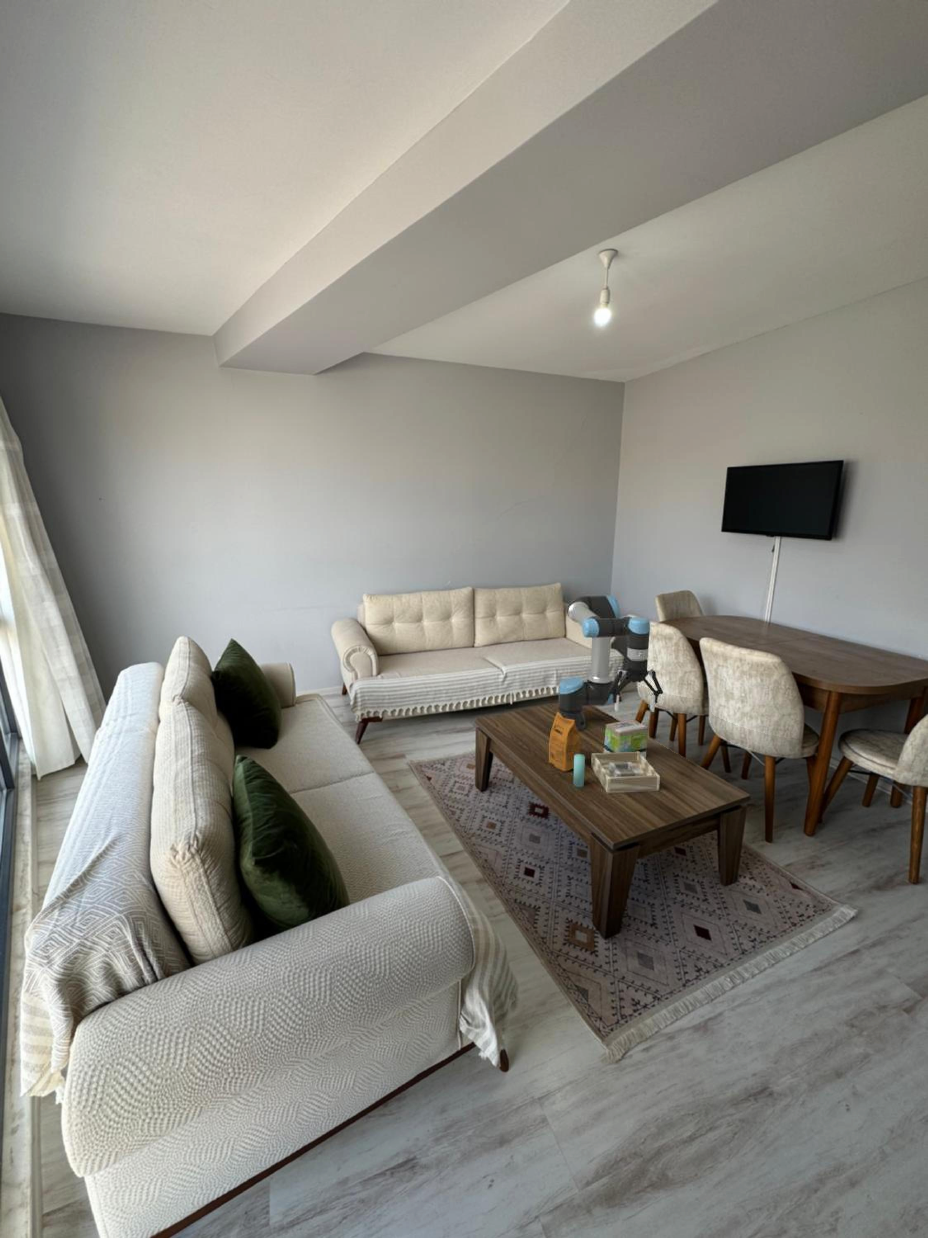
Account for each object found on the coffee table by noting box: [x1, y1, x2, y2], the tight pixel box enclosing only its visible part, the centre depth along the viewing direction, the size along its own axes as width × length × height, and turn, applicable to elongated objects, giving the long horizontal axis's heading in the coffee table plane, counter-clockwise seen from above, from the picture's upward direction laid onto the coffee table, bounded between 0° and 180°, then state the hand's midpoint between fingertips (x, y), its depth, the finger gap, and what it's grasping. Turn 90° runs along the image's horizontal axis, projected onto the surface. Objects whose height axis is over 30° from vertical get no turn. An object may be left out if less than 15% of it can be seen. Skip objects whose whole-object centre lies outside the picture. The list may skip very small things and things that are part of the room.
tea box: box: [603, 718, 649, 759], centre depth 216 cm, size 15×10×15 cm, turn 112°
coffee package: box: [548, 711, 581, 772], centre depth 210 cm, size 10×12×22 cm
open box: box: [590, 751, 661, 794], centre depth 200 cm, size 20×20×6 cm
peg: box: [572, 753, 586, 788], centre depth 196 cm, size 4×4×12 cm
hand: (634, 710), depth 196 cm, fingers open, 13 cm apart
